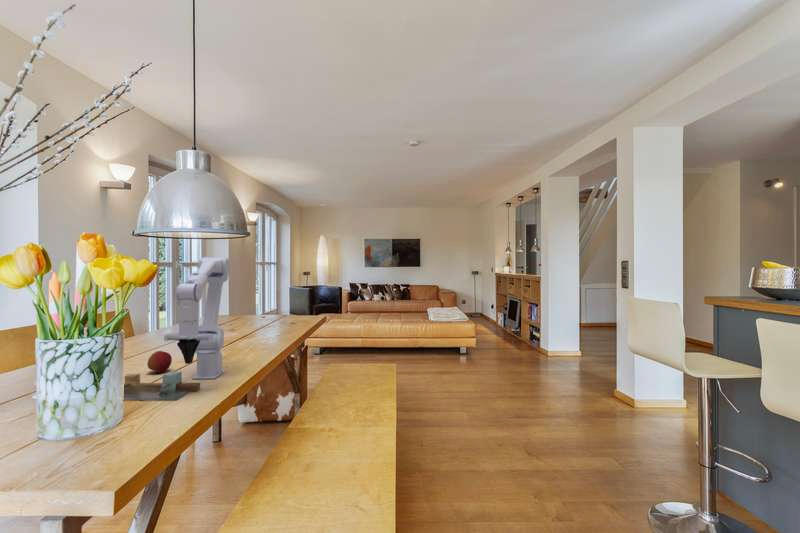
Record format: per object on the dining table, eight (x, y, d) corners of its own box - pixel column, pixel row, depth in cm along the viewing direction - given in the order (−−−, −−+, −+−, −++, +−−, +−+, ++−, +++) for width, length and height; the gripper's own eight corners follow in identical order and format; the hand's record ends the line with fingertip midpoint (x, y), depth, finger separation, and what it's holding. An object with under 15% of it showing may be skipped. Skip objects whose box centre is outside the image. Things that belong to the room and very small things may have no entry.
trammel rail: (126, 388, 132) (126, 373, 132) (200, 388, 133) (200, 373, 133) (109, 397, 124) (109, 380, 124) (188, 396, 125) (188, 380, 125)
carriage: (169, 387, 133) (169, 371, 133) (182, 387, 133) (182, 371, 133) (154, 396, 124) (154, 379, 124) (167, 396, 125) (167, 379, 124)
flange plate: (117, 392, 128) (117, 390, 128) (188, 392, 129) (188, 390, 129) (102, 400, 121) (102, 397, 121) (176, 400, 122) (176, 397, 122)
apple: (175, 372, 152) (175, 350, 152) (151, 376, 146) (151, 354, 146) (167, 368, 157) (167, 347, 157) (144, 372, 151) (144, 351, 151)
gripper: (158, 322, 125) (158, 366, 125) (206, 322, 126) (206, 366, 126) (170, 319, 132) (170, 360, 132) (215, 319, 133) (215, 360, 133)
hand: (188, 363), depth 130 cm, fingers closed
